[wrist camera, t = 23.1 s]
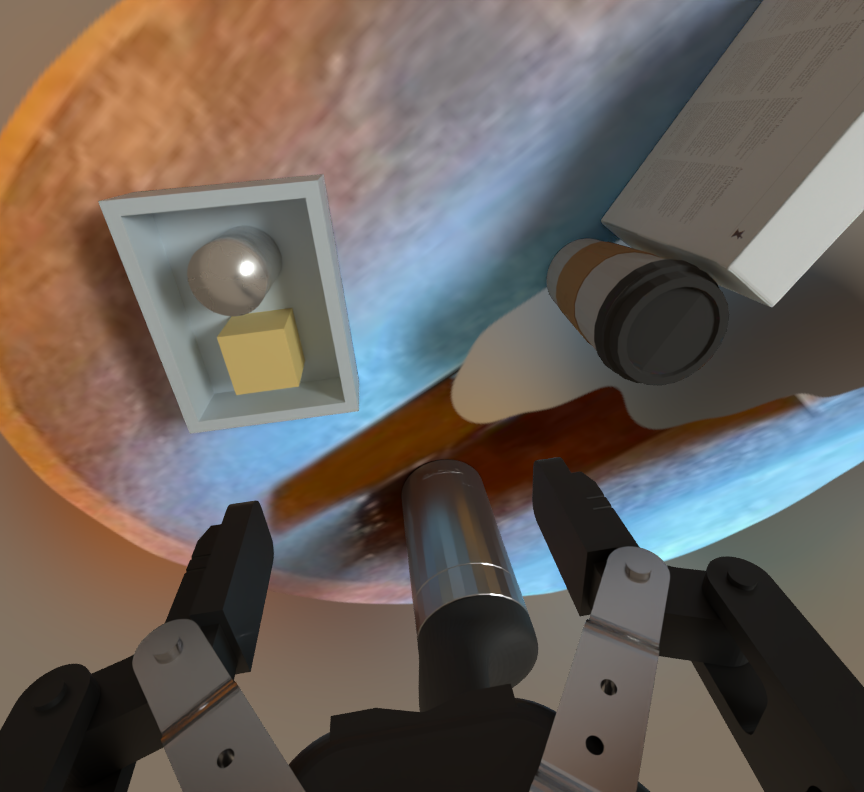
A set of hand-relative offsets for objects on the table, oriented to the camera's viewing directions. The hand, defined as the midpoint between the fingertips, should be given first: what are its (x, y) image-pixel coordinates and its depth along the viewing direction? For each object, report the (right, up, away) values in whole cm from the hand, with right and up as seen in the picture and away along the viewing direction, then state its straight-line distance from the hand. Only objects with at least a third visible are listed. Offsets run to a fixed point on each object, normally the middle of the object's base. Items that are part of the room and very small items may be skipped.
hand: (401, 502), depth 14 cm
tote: (-14, +11, +26) cm, 32 cm away
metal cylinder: (-14, +14, +24) cm, 31 cm away
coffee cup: (+14, +14, +29) cm, 35 cm away
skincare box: (+23, +25, +25) cm, 42 cm away
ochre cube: (-13, +8, +28) cm, 32 cm away
